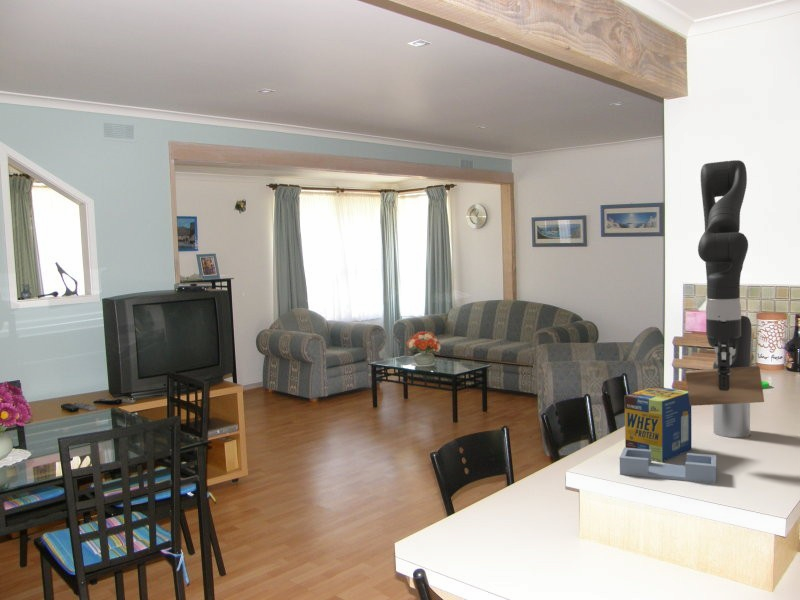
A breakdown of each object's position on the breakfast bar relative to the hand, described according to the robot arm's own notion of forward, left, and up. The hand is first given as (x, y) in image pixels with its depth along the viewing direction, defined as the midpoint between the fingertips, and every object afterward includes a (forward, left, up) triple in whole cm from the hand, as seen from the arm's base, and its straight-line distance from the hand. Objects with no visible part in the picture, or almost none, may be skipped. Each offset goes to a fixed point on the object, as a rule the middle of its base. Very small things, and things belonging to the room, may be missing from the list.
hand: (723, 388), depth 162 cm
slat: (0, 0, -3) cm, 3 cm away
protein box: (-7, -15, -19) cm, 25 cm away
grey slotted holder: (+10, -12, -19) cm, 25 cm away
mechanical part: (-96, +9, -19) cm, 98 cm away
